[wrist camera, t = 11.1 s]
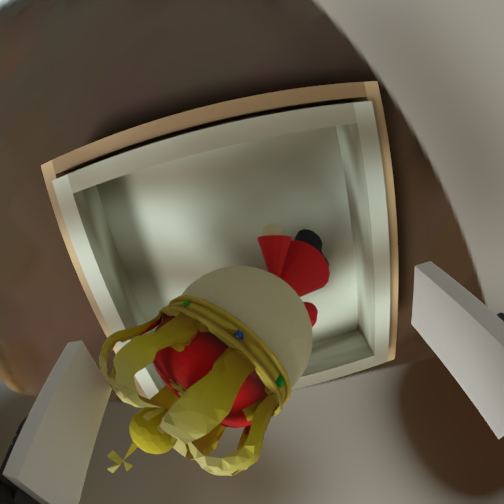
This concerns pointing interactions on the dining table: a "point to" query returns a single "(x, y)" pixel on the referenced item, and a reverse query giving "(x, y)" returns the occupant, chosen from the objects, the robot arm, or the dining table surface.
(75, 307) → the dining table surface
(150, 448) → the toy
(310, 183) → the square wooden tray
